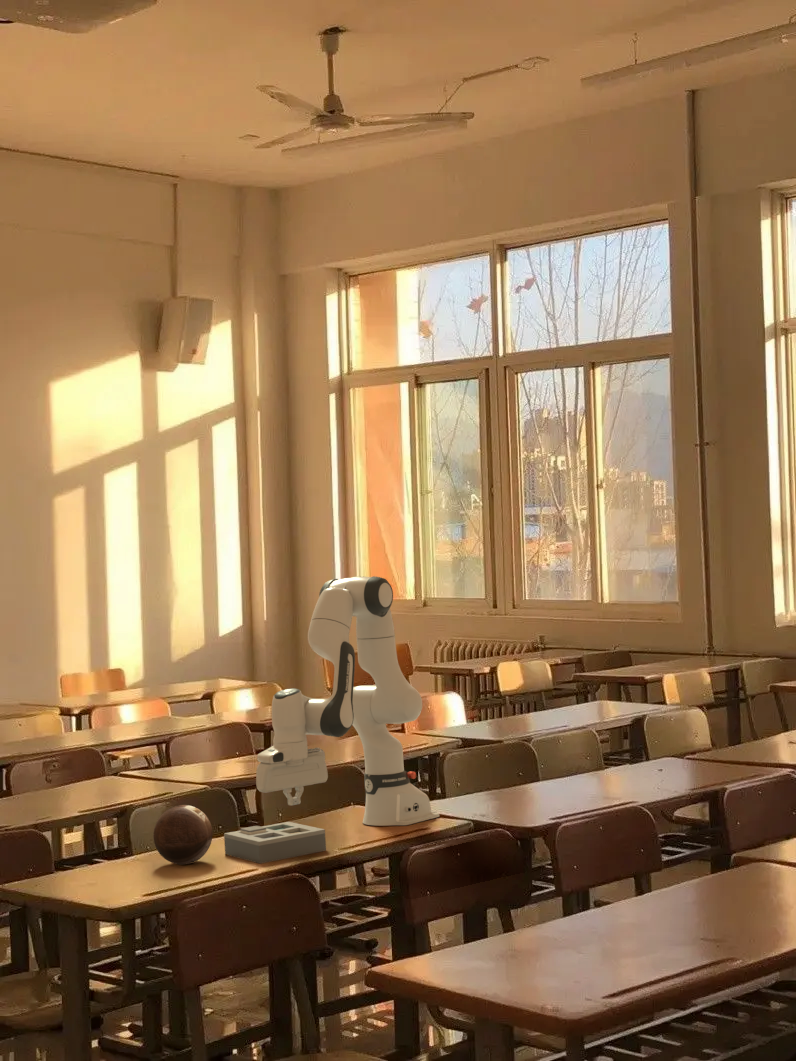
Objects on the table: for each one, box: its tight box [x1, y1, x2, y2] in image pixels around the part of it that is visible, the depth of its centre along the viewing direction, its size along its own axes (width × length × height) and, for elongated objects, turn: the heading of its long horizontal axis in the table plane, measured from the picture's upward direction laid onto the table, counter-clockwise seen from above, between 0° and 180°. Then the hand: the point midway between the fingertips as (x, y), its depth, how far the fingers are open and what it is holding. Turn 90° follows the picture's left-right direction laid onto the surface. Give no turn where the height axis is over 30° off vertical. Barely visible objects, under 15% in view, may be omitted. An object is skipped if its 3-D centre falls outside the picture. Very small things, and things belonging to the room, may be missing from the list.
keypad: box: [223, 821, 327, 864], centre depth 393 cm, size 20×18×6 cm
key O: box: [239, 825, 266, 835], centre depth 394 cm, size 5×5×3 cm
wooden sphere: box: [152, 804, 213, 865], centre depth 385 cm, size 15×15×15 cm
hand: (294, 804), depth 392 cm, fingers closed
